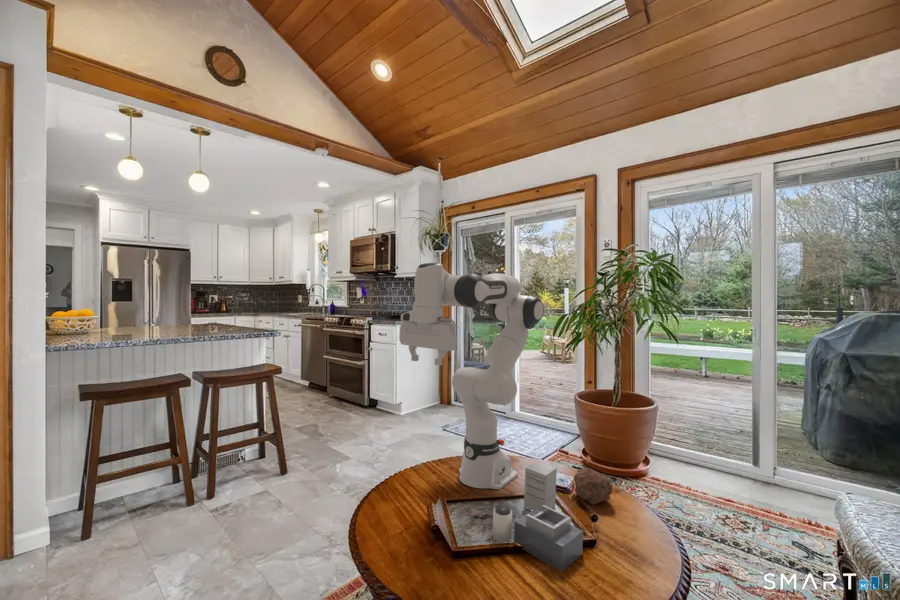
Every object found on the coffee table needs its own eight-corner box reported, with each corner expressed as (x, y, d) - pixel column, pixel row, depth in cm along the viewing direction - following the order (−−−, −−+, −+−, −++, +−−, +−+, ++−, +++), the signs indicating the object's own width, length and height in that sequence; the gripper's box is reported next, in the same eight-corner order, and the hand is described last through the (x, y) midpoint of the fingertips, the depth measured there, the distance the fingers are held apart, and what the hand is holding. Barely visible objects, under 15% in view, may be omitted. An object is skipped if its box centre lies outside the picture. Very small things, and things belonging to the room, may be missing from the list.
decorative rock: (618, 511, 123) (619, 478, 123) (582, 510, 122) (584, 478, 122) (599, 490, 136) (600, 461, 136) (567, 490, 135) (568, 461, 135)
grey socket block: (541, 526, 112) (542, 496, 113) (587, 549, 102) (589, 517, 102) (513, 544, 104) (514, 511, 104) (561, 572, 93) (562, 536, 93)
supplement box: (534, 499, 128) (535, 460, 128) (555, 508, 123) (557, 467, 123) (522, 508, 122) (524, 467, 122) (545, 517, 117) (546, 474, 117)
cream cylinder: (500, 529, 110) (501, 501, 110) (514, 538, 106) (516, 508, 106) (488, 536, 106) (489, 507, 107) (503, 545, 103) (504, 515, 103)
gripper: (462, 318, 114) (460, 366, 114) (411, 314, 127) (409, 357, 127) (448, 318, 109) (446, 368, 109) (396, 314, 122) (395, 359, 122)
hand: (426, 362), depth 118 cm, fingers open, 8 cm apart
